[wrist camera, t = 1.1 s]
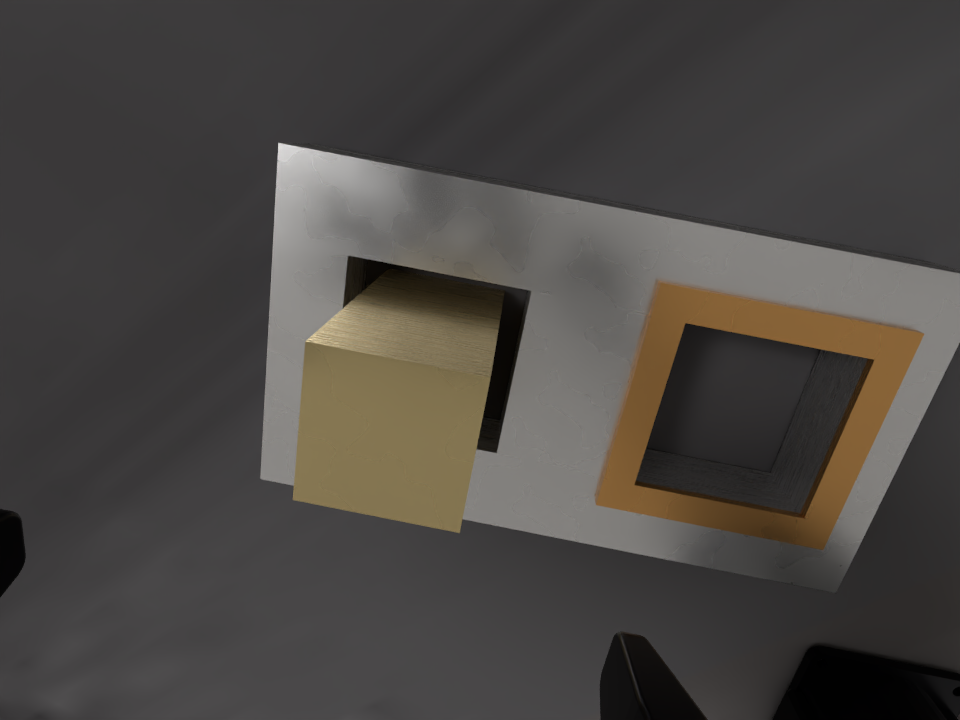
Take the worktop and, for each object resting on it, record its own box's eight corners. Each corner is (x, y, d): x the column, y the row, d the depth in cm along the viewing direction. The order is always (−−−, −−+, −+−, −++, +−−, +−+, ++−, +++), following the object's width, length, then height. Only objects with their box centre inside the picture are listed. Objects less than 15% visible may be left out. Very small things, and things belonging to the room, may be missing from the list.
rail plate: (932, 262, 18) (998, 281, 16) (803, 546, 22) (840, 599, 20) (310, 143, 19) (274, 142, 16) (288, 444, 23) (256, 483, 20)
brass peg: (504, 290, 20) (490, 378, 12) (483, 397, 21) (459, 533, 14) (389, 268, 20) (305, 341, 12) (375, 375, 21) (293, 499, 14)
